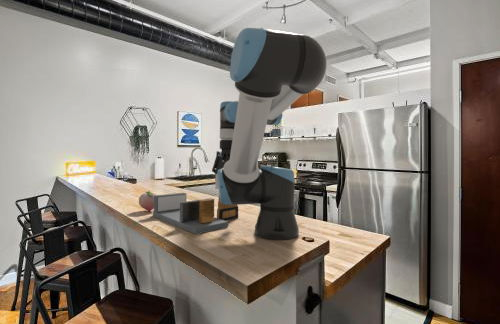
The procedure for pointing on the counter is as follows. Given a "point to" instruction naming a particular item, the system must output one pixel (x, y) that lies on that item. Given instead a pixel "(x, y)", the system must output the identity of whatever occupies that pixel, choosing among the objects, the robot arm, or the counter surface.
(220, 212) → the ammunition clip
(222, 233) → the counter surface
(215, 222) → the vise base
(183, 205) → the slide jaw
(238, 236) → the counter surface
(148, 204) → the decorative fruit
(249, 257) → the counter surface
